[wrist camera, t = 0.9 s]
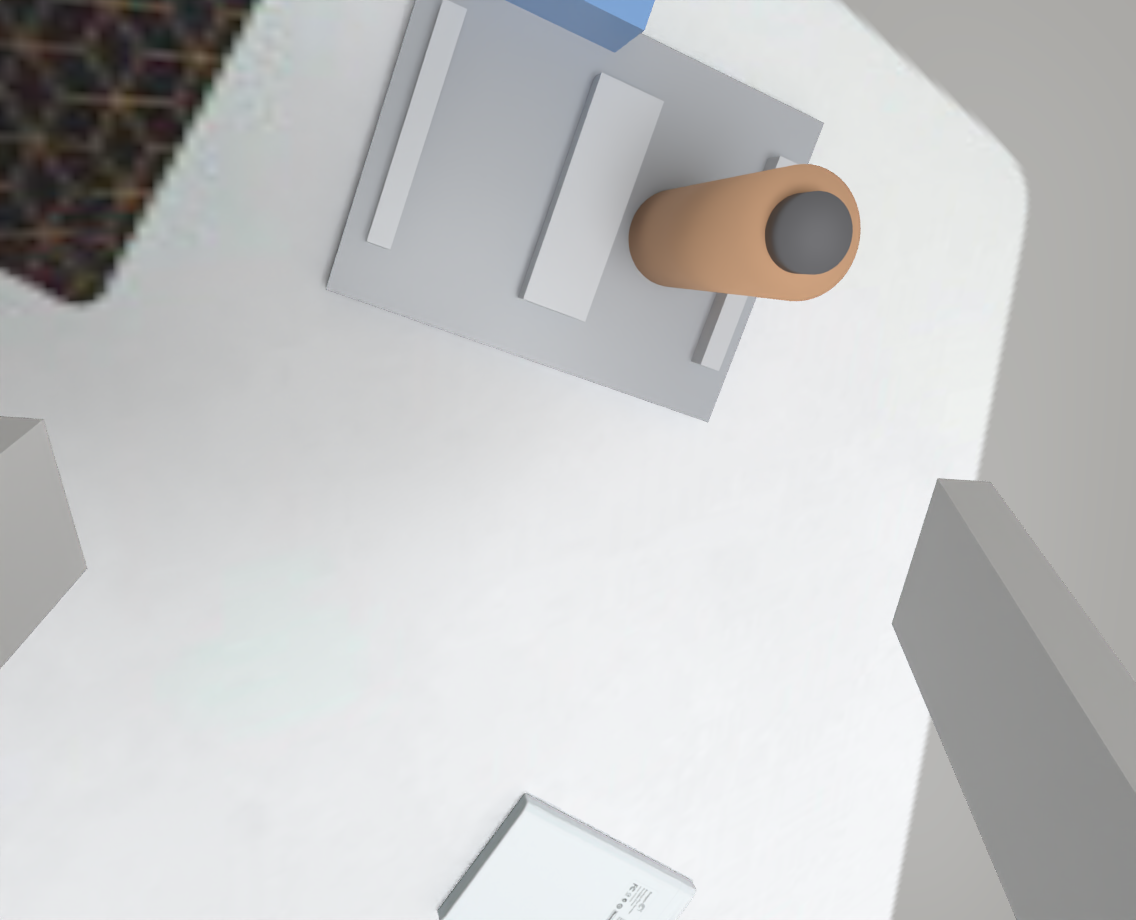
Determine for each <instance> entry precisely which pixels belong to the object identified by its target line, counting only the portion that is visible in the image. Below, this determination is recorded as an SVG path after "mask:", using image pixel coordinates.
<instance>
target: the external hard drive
mask: <svg viewBox="0 0 1136 920" xmlns="http://www.w3.org/2000/svg"><path fill="white" fill-rule="evenodd" d="M695 892H696V888H695V886H694V884H693V882H692V881H691V880H690V879H688V878H686V877H684V876H682V875H680V874H678V873H676V872H675V871H673V870H671V869H669V868H667V867H665V866H663V865H661V864H659V863H658V862H656V861H654V860H652V859H650V858H648V857H646V856H644V855H642V854H640V853H639V852H637V851H635V850H633V849H631V848H629V847H627V846H625V845H623V844H622V843H620V842H618V841H616V840H614V839H612V838H610V837H608V836H606V835H604V834H602V833H600V832H599V831H597V830H595V829H593V828H591V827H589V826H587V825H585V824H583V823H581V822H580V821H578V820H576V819H574V818H572V817H570V816H568V815H566V814H564V813H562V812H560V811H558V810H557V809H555V808H553V807H551V806H549V805H547V804H545V803H543V802H541V801H539V800H537V799H535V798H533V797H532V796H530V795H528V794H526V793H525V794H524V795H523V796H522V798H521V799H520V800H519V802H518V803H517V804H516V806H515V807H514V809H513V810H512V811H511V813H510V814H509V815H508V817H507V818H506V819H505V821H504V822H503V823H502V825H501V826H500V827H499V829H498V830H497V832H496V833H495V834H494V836H493V837H492V838H491V840H490V841H489V842H488V844H487V845H486V846H485V848H484V849H483V850H482V852H481V853H480V854H479V856H478V857H477V859H476V860H475V861H474V863H473V864H472V865H471V867H470V868H469V869H468V871H467V872H466V873H465V875H464V876H463V877H462V879H461V880H460V881H459V883H458V884H457V885H456V887H455V888H454V889H453V891H452V892H451V893H450V895H449V896H448V898H447V899H446V900H445V902H444V903H443V904H442V906H441V907H440V908H439V910H438V915H439V920H677V919H678V917H679V916H680V915H681V913H682V912H683V911H684V910H685V908H686V907H687V906H688V904H689V903H690V902H691V900H692V898H693V897H694V894H695Z"/></svg>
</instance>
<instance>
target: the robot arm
mask: <svg viewBox="0 0 1136 920" xmlns="http://www.w3.org/2000/svg"><path fill="white" fill-rule="evenodd" d="M86 569H87V566H86V562H85V559H84V556H83V552H82V549H81V545H80V542H79V539H78V535H77V532H76V528H75V525H74V522H73V518H72V515H71V511H70V508H69V505H68V501H67V498H66V494H65V491H64V488H63V484H62V481H61V477H60V474H59V471H58V467H57V464H56V460H55V457H54V454H53V450H52V447H51V443H50V440H49V437H48V433H47V430H46V426H45V423H44V420H43V419H32V418H17V417H2V416H0V669H1V667H2V666H3V665H4V664H5V663H6V662H7V661H8V659H9V658H10V657H11V656H12V655H13V654H14V652H15V651H16V650H17V649H18V648H19V647H20V646H21V644H22V643H23V642H24V641H25V640H26V639H27V637H28V636H29V635H30V634H31V633H32V632H33V631H34V629H35V628H36V627H37V626H38V625H39V624H40V622H41V621H42V620H43V619H44V618H45V617H46V616H47V614H48V613H49V612H50V611H51V610H52V609H53V607H54V606H55V605H56V604H57V603H58V602H59V601H60V599H61V598H62V597H63V596H64V595H65V594H66V592H67V591H68V590H69V589H70V588H71V587H72V586H73V584H74V583H75V582H76V581H77V580H78V579H79V577H80V576H81V575H82V574H83V573H84V572H85V571H86ZM892 625H893V628H894V630H895V632H896V635H897V637H898V640H899V642H900V644H901V647H902V649H903V651H904V654H905V656H906V659H907V661H908V663H909V666H910V668H911V670H912V673H913V675H914V678H915V680H916V682H917V685H918V687H919V689H920V692H921V694H922V697H923V699H924V701H925V704H926V706H927V708H928V711H929V713H930V716H931V718H932V720H933V723H934V725H935V727H936V730H937V732H938V735H939V737H940V739H941V741H942V744H943V746H944V749H945V751H946V754H947V756H948V758H949V761H950V763H951V765H952V768H953V770H954V773H955V775H956V777H957V780H958V782H959V784H960V787H961V789H962V792H963V794H964V796H965V799H966V801H967V803H968V806H969V808H970V811H971V813H972V815H973V818H974V820H975V822H976V824H977V827H978V830H979V832H980V834H981V837H982V839H983V842H984V844H985V846H986V849H987V851H988V853H989V856H990V858H991V861H992V863H993V865H994V868H995V870H996V872H997V874H998V877H999V879H1000V882H1001V884H1002V887H1003V889H1004V891H1005V894H1006V896H1007V898H1008V901H1009V903H1010V906H1011V908H1012V910H1013V913H1014V915H1015V918H1016V920H1136V682H1135V680H1134V679H1133V677H1132V676H1131V675H1130V673H1129V672H1128V671H1127V669H1126V668H1125V666H1124V665H1123V664H1122V662H1121V661H1120V660H1119V658H1118V657H1117V655H1116V654H1115V653H1114V652H1113V650H1112V649H1111V647H1110V646H1109V644H1108V643H1107V642H1106V640H1105V639H1104V638H1103V636H1102V635H1101V633H1100V632H1099V631H1098V629H1097V628H1096V626H1095V625H1094V624H1093V623H1092V621H1091V620H1090V618H1089V617H1088V616H1087V614H1086V613H1085V611H1084V610H1083V609H1082V607H1081V606H1080V604H1079V603H1078V602H1077V600H1076V599H1075V597H1074V596H1073V595H1072V594H1071V592H1070V591H1069V589H1068V588H1067V587H1066V585H1065V584H1064V582H1063V581H1062V580H1061V578H1060V577H1059V575H1058V574H1057V573H1056V571H1055V570H1054V569H1053V567H1052V566H1051V564H1050V563H1049V562H1048V560H1047V559H1046V558H1045V556H1044V555H1043V553H1042V552H1041V551H1040V549H1039V548H1038V547H1037V545H1036V544H1035V542H1034V541H1033V540H1032V538H1031V537H1030V536H1029V534H1028V533H1027V532H1026V530H1025V529H1024V527H1023V526H1022V525H1021V523H1020V522H1019V520H1018V519H1017V518H1016V516H1015V515H1014V513H1013V512H1012V511H1011V509H1010V508H1009V506H1008V505H1007V504H1006V502H1005V501H1004V500H1003V498H1002V497H1001V495H1000V494H999V493H998V491H997V490H996V489H995V487H994V486H993V484H992V483H991V482H985V481H970V480H955V479H940V478H938V479H937V482H936V485H935V488H934V492H933V495H932V498H931V501H930V504H929V507H928V511H927V514H926V517H925V520H924V523H923V526H922V530H921V533H920V536H919V539H918V542H917V545H916V549H915V552H914V555H913V558H912V561H911V564H910V568H909V571H908V574H907V577H906V580H905V583H904V587H903V590H902V593H901V596H900V599H899V602H898V606H897V609H896V612H895V615H894V618H893V621H892Z"/></svg>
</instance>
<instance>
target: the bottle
mask: <svg viewBox="0 0 1136 920" xmlns="http://www.w3.org/2000/svg"><path fill="white" fill-rule="evenodd" d="M859 240H860V216H859V211H858V207H857V204H856V202H855V199H854V197H853V195H852V193H851V191H850V190H849V188H848V187H847V185H846V184H845V183H844V182H843V181H842V180H841V179H840V178H839V177H838V176H837V175H835V174H834V173H833V172H831V171H829V170H827V169H825V168H823V167H820V166H816V165H811V164H797V165H791V166H786V167H781V168H776V169H771V170H766V171H761V172H755V173H750V174H745V175H740V176H735V177H730V178H725V179H720V180H715V181H710V182H705V183H700V184H695V185H690V186H684V187H679V188H674V189H669V190H665V191H661V192H659V193H656V194H654V195H653V196H651V197H650V198H648V199H647V200H646V201H645V202H644V203H643V204H642V205H641V206H640V207H639V209H638V210H637V212H636V213H635V215H634V217H633V219H632V222H631V225H630V230H629V240H628V241H629V249H630V254H631V257H632V260H633V262H634V264H635V266H636V267H637V269H638V270H639V271H640V272H641V274H642V275H643V276H645V277H646V278H647V279H648V280H650V281H651V282H653V283H655V284H658V285H661V286H666V287H673V288H682V289H691V290H700V291H708V292H717V293H726V294H735V295H744V296H752V297H761V298H770V299H779V300H787V301H803V300H809V299H812V298H815V297H818V296H820V295H822V294H824V293H826V292H827V291H829V290H830V289H831V288H833V287H834V286H835V285H836V284H837V283H838V282H839V281H840V280H841V279H842V278H843V277H844V275H845V274H846V273H847V271H848V270H849V268H850V266H851V265H852V262H853V260H854V258H855V255H856V252H857V249H858V245H859Z"/></svg>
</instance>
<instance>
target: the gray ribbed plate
mask: <svg viewBox="0 0 1136 920" xmlns="http://www.w3.org/2000/svg"><path fill="white" fill-rule="evenodd" d="M654 1H655V0H416V1H415V4H414V7H413V11H412V14H411V17H410V20H409V23H408V27H407V30H406V33H405V36H404V40H403V43H402V46H401V49H400V52H399V56H398V59H397V62H396V65H395V68H394V72H393V75H392V78H391V81H390V84H389V88H388V91H387V94H386V97H385V101H384V104H383V107H382V110H381V113H380V117H379V120H378V123H377V126H376V129H375V133H374V136H373V139H372V142H371V145H370V149H369V152H368V155H367V158H366V162H365V165H364V168H363V171H362V174H361V178H360V181H359V184H358V187H357V190H356V194H355V197H354V200H353V203H352V207H351V210H350V213H349V216H348V219H347V223H346V226H345V229H344V232H343V235H342V239H341V242H340V245H339V248H338V251H337V255H336V258H335V261H334V264H333V268H332V271H331V274H330V277H329V280H328V284H327V287H326V290H329V291H332V292H335V293H338V294H340V295H343V296H346V297H349V298H352V299H355V300H358V301H361V302H363V303H366V304H369V305H372V306H375V307H378V308H381V309H384V310H386V311H389V312H392V313H395V314H398V315H401V316H404V317H407V318H409V319H412V320H415V321H418V322H421V323H424V324H427V325H430V326H433V327H435V328H438V329H441V330H444V331H447V332H450V333H453V334H456V335H458V336H461V337H464V338H467V339H470V340H473V341H476V342H479V343H481V344H484V345H487V346H490V347H493V348H496V349H499V350H502V351H504V352H507V353H510V354H513V355H516V356H519V357H522V358H525V359H528V360H530V361H533V362H536V363H539V364H542V365H545V366H548V367H551V368H553V369H556V370H559V371H562V372H565V373H568V374H571V375H574V376H576V377H579V378H582V379H585V380H588V381H591V382H594V383H597V384H599V385H602V386H605V387H608V388H611V389H614V390H617V391H620V392H622V393H625V394H628V395H631V396H634V397H637V398H640V399H643V400H646V401H648V402H651V403H654V404H657V405H660V406H663V407H666V408H669V409H671V410H674V411H677V412H680V413H683V414H686V415H689V416H692V417H694V418H697V419H700V420H703V421H706V422H708V421H709V419H710V416H711V413H712V411H713V408H714V406H715V403H716V401H717V398H718V395H719V393H720V390H721V388H722V385H723V382H724V380H725V377H726V375H727V372H728V370H729V367H730V364H731V362H732V359H733V357H734V354H735V351H736V349H737V346H738V344H739V341H740V339H741V336H742V333H743V331H744V328H745V326H746V323H747V321H748V318H749V315H750V313H751V310H752V308H753V305H754V302H755V300H756V297H752V296H744V295H735V294H726V293H717V292H708V291H700V290H691V289H682V288H673V287H666V286H661V285H658V284H655V283H653V282H651V281H650V280H648V279H647V278H646V277H645V276H643V275H642V274H641V272H640V271H639V270H638V269H637V267H636V266H635V264H634V262H633V260H632V257H631V254H630V249H629V241H628V240H629V230H630V225H631V222H632V219H633V217H634V215H635V213H636V212H637V210H638V209H639V207H640V206H641V205H642V204H643V203H644V202H645V201H646V200H647V199H648V198H650V197H651V196H653V195H654V194H656V193H659V192H661V191H665V190H669V189H674V188H679V187H684V186H690V185H695V184H700V183H705V182H710V181H715V180H720V179H725V178H730V177H735V176H740V175H745V174H750V173H755V172H761V171H766V170H771V169H776V168H781V167H786V166H791V165H797V164H808V163H809V160H810V158H811V155H812V153H813V150H814V147H815V145H816V142H817V140H818V137H819V135H820V132H821V129H822V127H823V124H824V123H823V122H821V121H819V120H817V119H815V118H813V117H811V116H809V115H807V114H805V113H802V112H800V111H798V110H796V109H794V108H792V107H790V106H788V105H786V104H784V103H782V102H780V101H778V100H776V99H774V98H772V97H770V96H768V95H766V94H764V93H762V92H760V91H758V90H756V89H754V88H752V87H750V86H747V85H745V84H743V83H741V82H739V81H737V80H735V79H733V78H731V77H729V76H727V75H725V74H723V73H721V72H719V71H717V70H715V69H713V68H711V67H709V66H707V65H705V64H703V63H701V62H699V61H697V60H695V59H692V58H690V57H688V56H686V55H684V54H682V53H680V52H678V51H676V50H674V49H672V48H670V47H668V46H666V45H664V44H662V43H660V42H658V41H656V40H654V39H652V38H650V37H648V36H646V35H644V34H642V32H643V31H644V30H645V27H646V24H647V21H648V18H649V16H650V13H651V10H652V7H653V4H654Z"/></svg>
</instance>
